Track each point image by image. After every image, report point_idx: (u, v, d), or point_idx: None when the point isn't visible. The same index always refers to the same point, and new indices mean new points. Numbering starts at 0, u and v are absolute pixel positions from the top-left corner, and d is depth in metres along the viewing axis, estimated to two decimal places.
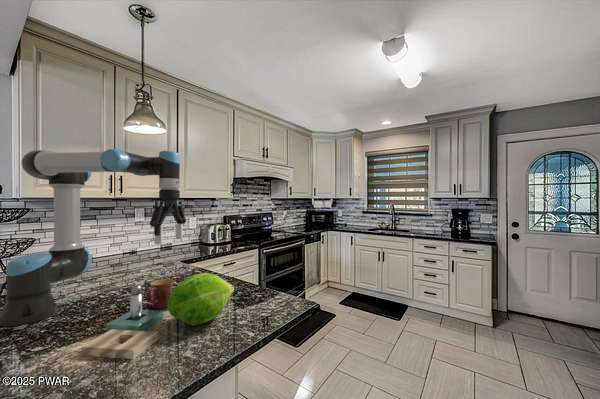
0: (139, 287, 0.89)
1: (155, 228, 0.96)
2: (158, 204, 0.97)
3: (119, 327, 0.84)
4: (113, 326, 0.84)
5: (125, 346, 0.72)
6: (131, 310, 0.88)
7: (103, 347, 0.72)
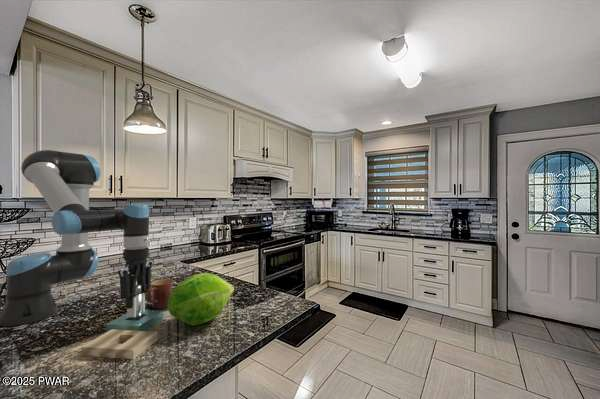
0: (139, 287, 0.89)
1: (127, 300, 0.86)
2: (122, 275, 0.84)
3: (119, 327, 0.84)
4: (113, 326, 0.84)
5: (125, 346, 0.72)
6: None
7: (103, 347, 0.72)
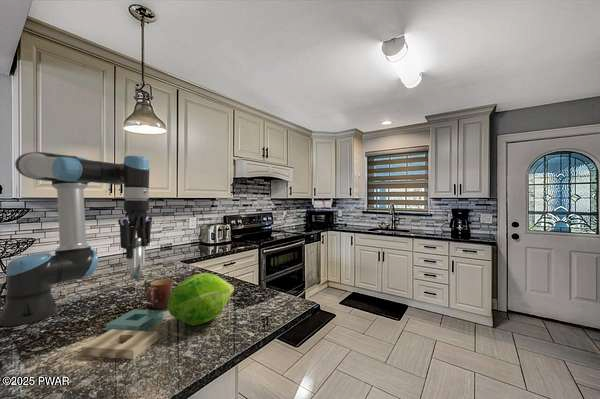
0: (139, 239, 0.90)
1: (127, 250, 0.86)
2: (122, 223, 0.84)
3: (119, 327, 0.84)
4: (113, 326, 0.84)
5: (125, 346, 0.72)
6: None
7: (103, 347, 0.72)
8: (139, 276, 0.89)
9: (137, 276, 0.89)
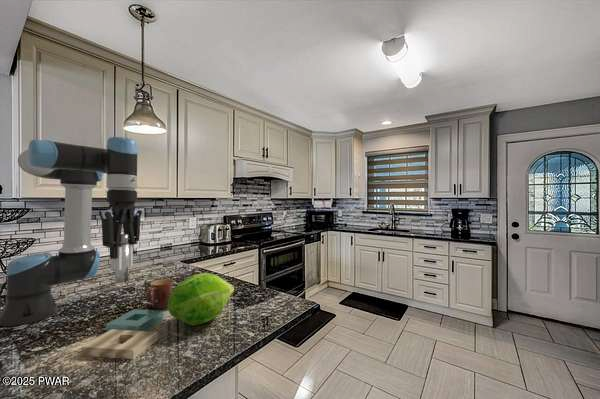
0: (126, 236, 0.76)
1: (111, 249, 0.73)
2: (104, 217, 0.70)
3: (119, 327, 0.84)
4: (113, 326, 0.84)
5: (125, 346, 0.72)
6: None
7: (103, 347, 0.72)
8: (126, 279, 0.76)
9: (123, 279, 0.75)
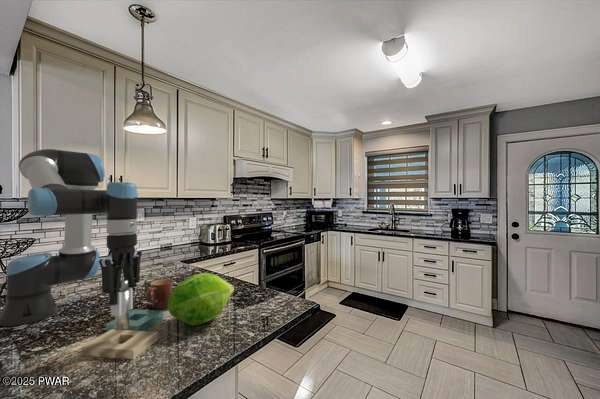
0: (125, 282, 0.76)
1: (111, 296, 0.73)
2: (104, 265, 0.70)
3: None
4: (113, 326, 0.84)
5: (125, 346, 0.72)
6: None
7: (103, 347, 0.72)
8: (126, 326, 0.75)
9: (123, 327, 0.75)
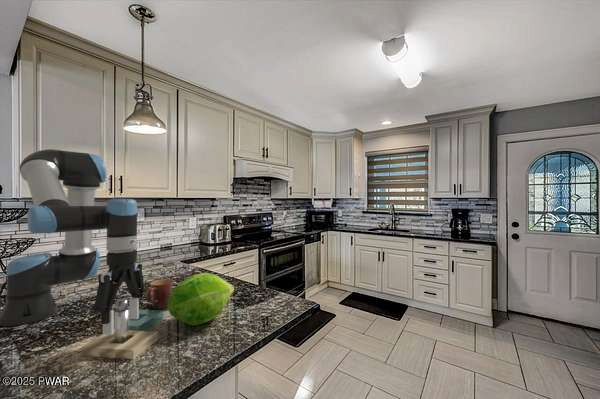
0: (125, 302, 0.76)
1: (102, 314, 0.70)
2: (102, 280, 0.70)
3: None
4: None
5: (125, 346, 0.72)
6: (115, 329, 0.74)
7: (103, 347, 0.72)
8: None
9: None
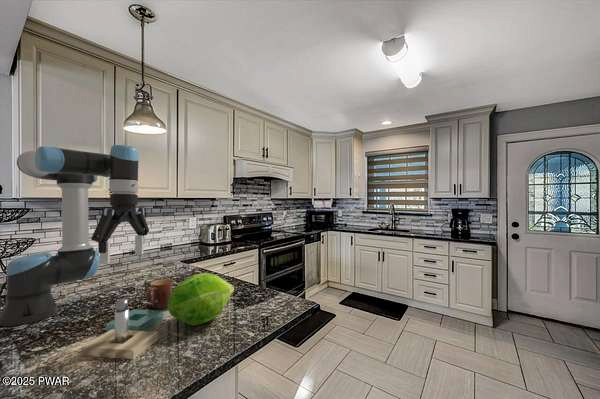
0: (125, 302, 0.76)
1: (99, 244, 0.75)
2: (105, 213, 0.76)
3: None
4: (113, 326, 0.84)
5: (125, 346, 0.72)
6: (115, 329, 0.74)
7: (103, 347, 0.72)
8: None
9: None
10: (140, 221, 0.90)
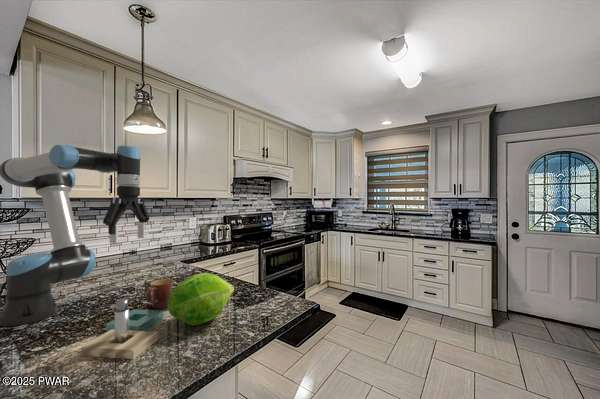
0: (125, 302, 0.76)
1: (109, 226, 0.91)
2: (113, 201, 0.93)
3: None
4: (113, 326, 0.84)
5: (125, 346, 0.72)
6: (116, 329, 0.74)
7: (103, 347, 0.72)
8: None
9: None
10: (142, 210, 1.06)
